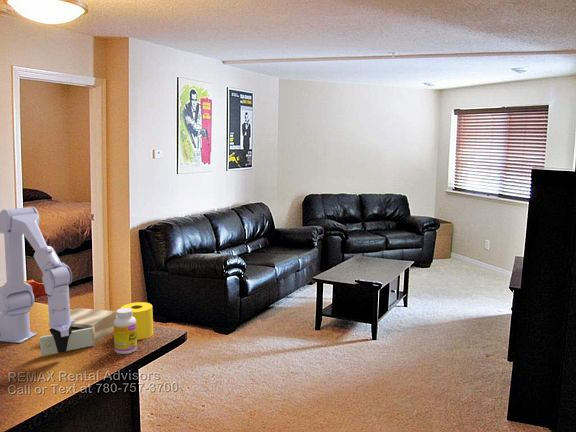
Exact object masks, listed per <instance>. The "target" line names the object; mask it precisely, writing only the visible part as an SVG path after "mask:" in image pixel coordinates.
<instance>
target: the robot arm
mask: <svg viewBox="0 0 576 432" xmlns="http://www.w3.org/2000/svg"><path fill="white" fill-rule="evenodd" d="M39 225H40V213H39V211H38V209H37V208H36V207H35V206H32V205H31V206H28V207H27V206H26V207H19V208H18V207H17V208H10V209H9V208H8V209H7V208H5V209H2V210H1V211H0V234H3V237H4V239H3V240H4V253H5V254H4V256H5V257H4V259H5V273H6V275H5V276H6V282H5V283H4V284H3V285H2V286H1V287H0V342H7V343H17V344H21V343H23V342H25V341H26V340H28V339H31V338H32V337H34V336H36V335H37V332H34V331H33V332H32V331H31V324H30V311H31V310H32V307H33V306H34V304H35V295H34V293H33V286H32V285H31V284H30V283H27V282H26V281H25V273H24V269H25V268H24V249H23V236H24V237H25V239H26V240H27V241H28V243H29V244H30V246H31V247H32V248H33V249H32V250H34V251H35V252H34V254H33V258H34V260H35V262H36V263H37V266H38V267H39V270H40V271H41V273H42V277H41V281H42V284H43V286H44V292H45V294H47V305H48V308H47V309H48V320H49V321H48V327H49V332H50V335H51V334H52V336H53V337H54V340H55V344H56V348H57V351H58V354H63V353H67V351H66V350H67V345H68V340H69V337H70V334H71V333H72V329H71V327H70V325H71V324H72V323H75V320H74V319H71V318H70V311H71V305H70V288H69V287H70V286H69V285H70V284H71V283H72V281H73V273H72V270H71V268H70V266H68V264H65V262H61V259H60V257H59V256H58V254H57V253H56V251H55V249H54V247H53V246H52V245H51V246H49V245H47V242H46V240H45V238H44V236H43V233H42V231H41V228H40V227H39Z"/></svg>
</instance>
